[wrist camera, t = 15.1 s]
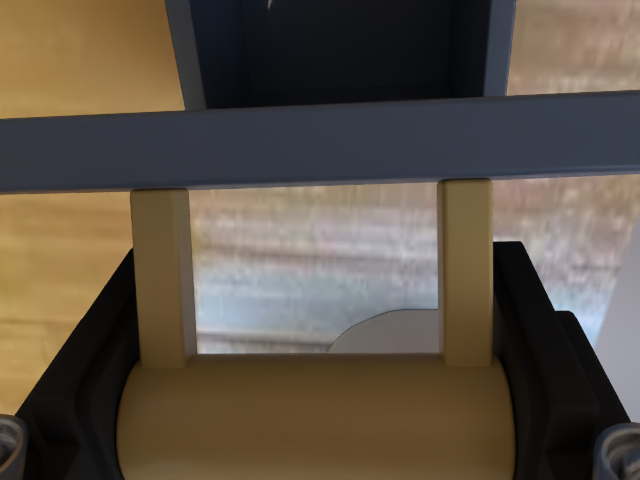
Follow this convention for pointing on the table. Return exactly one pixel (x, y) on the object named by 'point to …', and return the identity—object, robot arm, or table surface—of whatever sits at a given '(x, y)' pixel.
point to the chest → (338, 50)
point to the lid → (320, 368)
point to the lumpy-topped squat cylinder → (392, 333)
